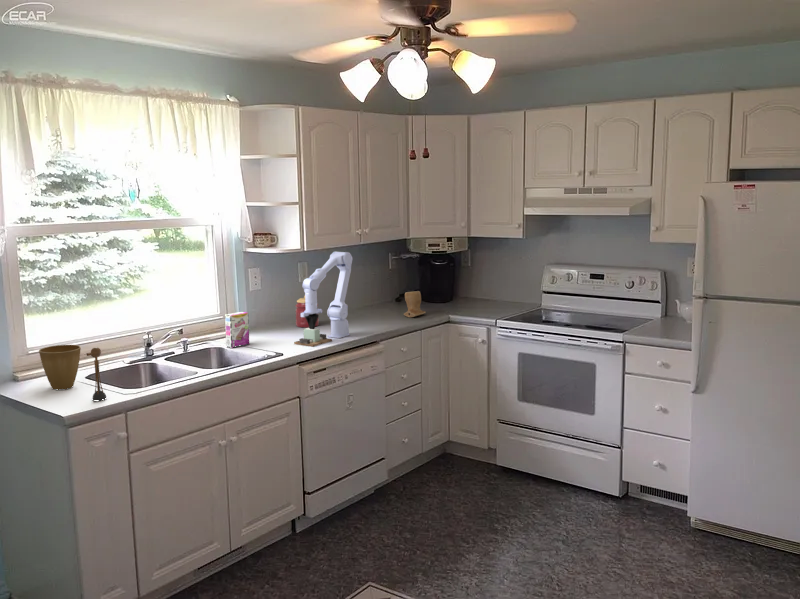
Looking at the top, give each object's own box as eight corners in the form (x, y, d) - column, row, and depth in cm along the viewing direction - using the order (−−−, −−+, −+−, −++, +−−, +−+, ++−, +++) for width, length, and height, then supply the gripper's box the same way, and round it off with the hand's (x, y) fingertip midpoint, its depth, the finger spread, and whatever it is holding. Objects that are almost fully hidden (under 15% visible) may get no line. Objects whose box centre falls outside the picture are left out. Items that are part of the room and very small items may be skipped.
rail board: (313, 338, 368) (313, 332, 367) (331, 340, 361) (331, 335, 361) (294, 344, 355) (293, 338, 355) (313, 346, 349) (312, 340, 348)
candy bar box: (232, 348, 347) (230, 315, 345) (225, 347, 350) (223, 314, 348) (250, 344, 356) (248, 312, 353) (244, 343, 359) (242, 311, 356)
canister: (315, 322, 411) (314, 292, 408) (321, 326, 399) (320, 295, 396) (293, 324, 406) (292, 293, 403) (299, 328, 394) (298, 297, 391)
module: (309, 339, 361) (308, 327, 360) (319, 340, 358) (319, 328, 357) (304, 340, 358) (303, 328, 357) (314, 342, 354) (314, 330, 353)
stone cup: (411, 313, 437) (411, 288, 435) (428, 314, 431) (428, 290, 429) (398, 317, 424) (397, 292, 422) (415, 318, 418) (415, 293, 416)
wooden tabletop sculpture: (95, 402, 262) (90, 349, 259) (87, 401, 265) (82, 348, 262) (109, 398, 267) (104, 346, 264) (101, 397, 270) (97, 345, 266)
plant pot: (65, 394, 274) (62, 353, 272) (33, 391, 278) (29, 351, 276) (92, 383, 288) (88, 345, 286) (61, 381, 292) (57, 343, 290)
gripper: (314, 299, 363) (314, 326, 365) (295, 303, 351) (296, 330, 353) (325, 300, 359) (325, 327, 361) (306, 304, 347) (307, 332, 349)
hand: (312, 329), depth 357 cm, fingers closed, pressing on module
